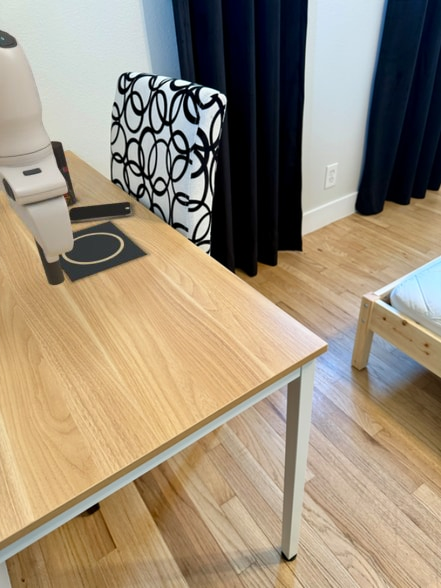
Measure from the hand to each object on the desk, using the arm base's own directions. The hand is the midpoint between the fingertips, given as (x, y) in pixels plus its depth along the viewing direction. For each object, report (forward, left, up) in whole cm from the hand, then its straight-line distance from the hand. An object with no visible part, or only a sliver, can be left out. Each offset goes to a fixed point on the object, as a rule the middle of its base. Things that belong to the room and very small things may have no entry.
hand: (48, 254), depth 67 cm
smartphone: (+20, +34, -13) cm, 41 cm away
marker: (0, 0, -5) cm, 5 cm away
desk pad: (+12, +19, -12) cm, 26 cm away
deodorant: (+15, +46, -13) cm, 50 cm away
